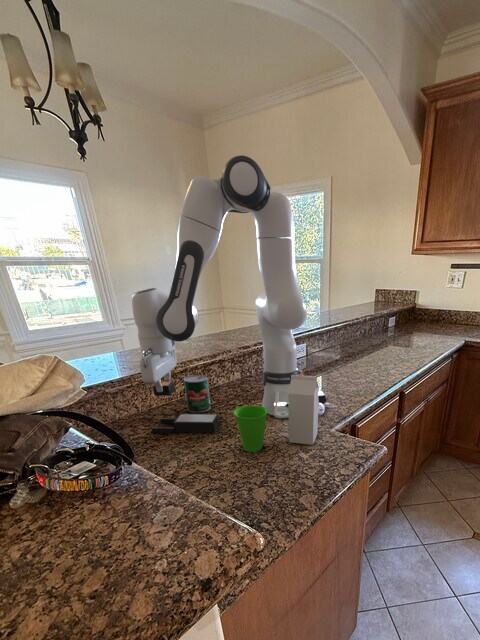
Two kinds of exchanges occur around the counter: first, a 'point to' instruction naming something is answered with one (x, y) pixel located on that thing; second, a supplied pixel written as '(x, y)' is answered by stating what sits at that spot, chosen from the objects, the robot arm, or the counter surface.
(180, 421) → the dark grey stepped block
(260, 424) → the cup
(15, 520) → the counter surface
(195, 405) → the canned tomato
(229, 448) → the counter surface
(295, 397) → the milk carton
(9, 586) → the counter surface
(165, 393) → the orange topped grey block
